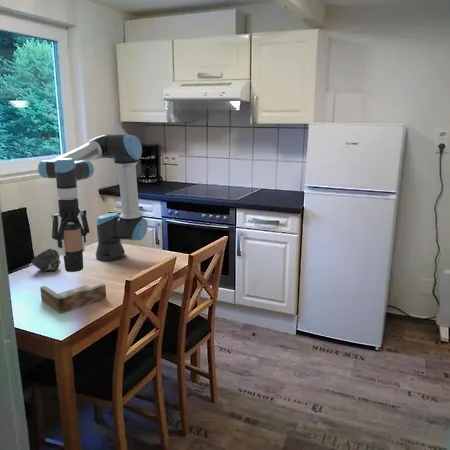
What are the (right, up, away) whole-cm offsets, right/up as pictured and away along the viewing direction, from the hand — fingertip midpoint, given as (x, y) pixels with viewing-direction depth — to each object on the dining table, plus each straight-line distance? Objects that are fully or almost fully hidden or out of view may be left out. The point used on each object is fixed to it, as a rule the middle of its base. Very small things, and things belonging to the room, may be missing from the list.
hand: (72, 252), depth 179 cm
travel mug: (0, -7, +2) cm, 7 cm away
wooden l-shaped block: (0, -20, +3) cm, 20 cm away
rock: (-25, -11, +36) cm, 45 cm away
